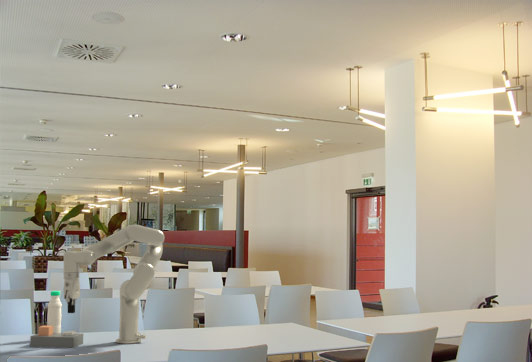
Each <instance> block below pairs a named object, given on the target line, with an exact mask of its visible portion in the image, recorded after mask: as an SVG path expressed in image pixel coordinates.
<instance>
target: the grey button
mask: <svg viewBox="0 0 532 362" xmlns="http://www.w3.org/2000/svg"><path fill="white" fill-rule="evenodd" d="M61 333H62V336H74V335H76V333H77V331H75V330H74V331H73V330H71V331H70V330H69V331H68V330H66V331H63V332H61Z"/></svg>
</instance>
